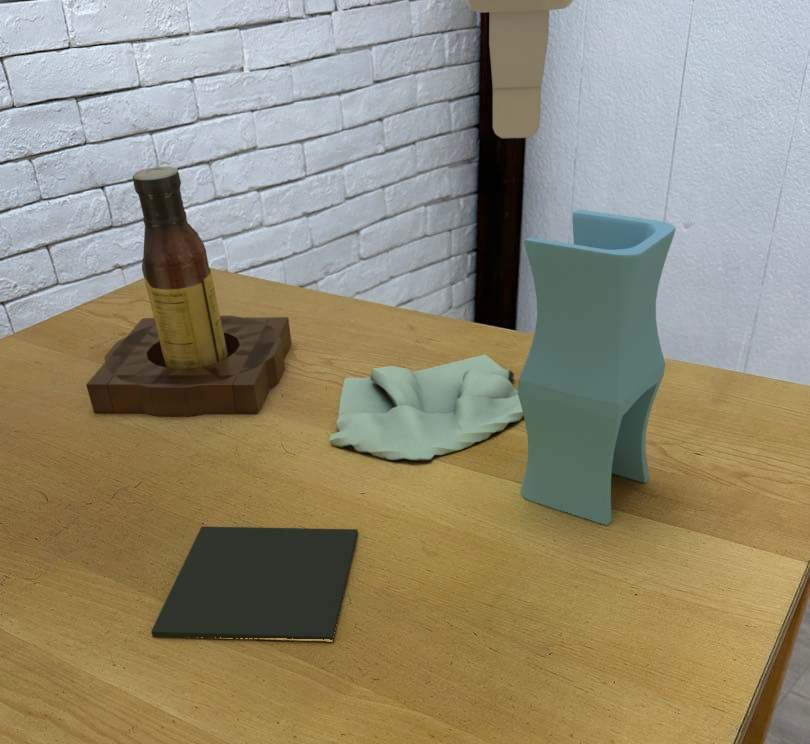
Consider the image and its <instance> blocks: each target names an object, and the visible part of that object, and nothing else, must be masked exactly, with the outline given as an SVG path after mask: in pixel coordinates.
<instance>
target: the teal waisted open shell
mask: <svg viewBox="0 0 810 744" xmlns="http://www.w3.org/2000/svg"><path fill="white" fill-rule="evenodd" d="M571 216H572V217H571V218H572V220H571V221H572V222H571V223H572V234H573V235H572V236H573V243H568V242H562V241H557V240H549V239H545V238H544V239H543V238H537V237H532V236H529V237H528V238H526V239H524V240H523V243H524V247H525V252H526V255H527V259H528V262H529V265H530V270H531V274H532V278H533V285H534V290H535V296H536V297H535V298H536V313H537V314H536V322H535V329H534V334H533V337H532V342H531V346H530V348H529V352H528V355H527V357H526V361H525V363H524V365H523V368H522V370H521V373H520V375H519V378H518V380H517V390H518V396H519V400H520V403H521V407H522V411H523V415H524V416H523V419H524V423H525V429H526V437H527V438H526V439H527V461H526V467H525V473H524V477H523V479H522V484H521V489H520V494H521V496H522V497H523V498H524V499H526V500H528V501H530V502H533V503H535V504H538V503H539V504H538V505H541V504H542V505H541V506H544V507H547V506H548V508H550V507H551V509H554V510H557V511H560V510H561V511H560V512H563V511H564V512H563V513H566V512H568V513H567V514H569V513H571V514H570V515H571V516H572V515H573V516H575V515H576V516H575V517H578V516H579V517H578V518H581V517H582V519H584V518H586V519H585V520H587V519H589V520H588V521H591V520H593V521H594V522H593V521H591V522H593V523H597V524H600V523H601V524H600V525H603V524H605V525H604V526H606V525H607V526H608V525H609V524H610V523H611V522H612V475H616V476H620V477H623V478H627V479H630V480H633V481H635V482H639V483H643V484H646V483H647V482H648V481H649V479H650V472H649V466H648V459H647V448H646V446H647V445H646V439H647V428H648V424H649V419H650V415H651V411H652V408H653V405H654V402H655V399H656V396H657V393H658V391H659V389H660V386H661V383H662V381H663V378H664V376H665V367H666V361H665V358H664V353H663V349H662V347H661V342H660V336H659V331H658V324H657V296H658V291H659V286H660V282H661V278H662V273H663V270H664V266H665V264H666V261H667V257H668V253H669V251H670V249H671V245H672V243H673V240H674V236H675V234H676V229H677V228H676V227H675V225H673V224H672V223H670V222H666V221H661V220H655V219H650V218H649V219H648V218H642V217H634V216H628V215H621V214H614V213H607V212H599V211H591V210H586V209H579V208H578V209H577V210H574V211H573V212H572V215H571Z"/></svg>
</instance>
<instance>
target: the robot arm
mask: <svg viewBox="0 0 810 744" xmlns="http://www.w3.org/2000/svg"><path fill="white" fill-rule="evenodd" d="M465 1H466V4H467V6H468V8H469V9H470V10H471V11H473V12H476V13H489V15H488V17H489V18H488V19H489V21H488V26H489V27H488V28H489V29H488V35H489V36H488V47H489V58H490V71H491V85H492V130H493V132H494V134H495V135H496V136H497V137H499V138H500V139H528V138H532V137H534V136H535V135H536V134H537V133H538V131H539V128H540V123H541V122H540V121H541V100H542V85H543V77H544V70H545V64H546V57H547V49H548V43H549V42H548V40H549V27H550V25H549V24H550V11H555V10H563V9H566V8H568V7H570V6H571V4H572V3H574V0H465Z"/></svg>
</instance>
